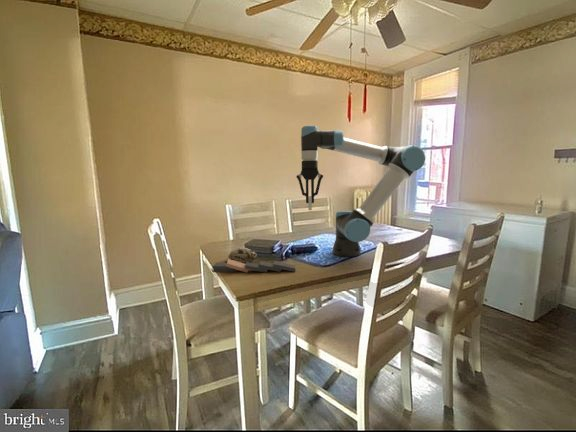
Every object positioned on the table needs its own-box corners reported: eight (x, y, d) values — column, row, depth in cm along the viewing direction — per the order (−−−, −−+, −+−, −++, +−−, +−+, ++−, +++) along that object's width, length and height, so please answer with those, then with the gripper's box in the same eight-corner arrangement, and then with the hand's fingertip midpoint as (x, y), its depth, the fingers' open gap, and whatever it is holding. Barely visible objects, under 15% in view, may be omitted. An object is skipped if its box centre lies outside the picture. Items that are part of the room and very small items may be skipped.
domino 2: (237, 266, 146) (216, 266, 147) (234, 269, 141) (213, 269, 142) (237, 269, 146) (216, 269, 147) (234, 273, 141) (213, 273, 142)
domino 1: (236, 263, 145) (217, 262, 147) (233, 266, 140) (212, 266, 142) (237, 266, 145) (217, 265, 147) (233, 270, 141) (212, 269, 142)
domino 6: (295, 265, 144) (274, 260, 143) (295, 268, 139) (274, 264, 138) (294, 268, 144) (273, 264, 143) (294, 271, 139) (273, 267, 138)
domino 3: (248, 265, 144) (228, 258, 143) (248, 269, 139) (226, 263, 138) (247, 268, 145) (227, 261, 143) (247, 272, 140) (225, 266, 138)
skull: (255, 273, 150) (245, 262, 144) (231, 267, 159) (220, 257, 152) (263, 257, 155) (254, 246, 148) (239, 252, 164) (229, 242, 157)
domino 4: (267, 265, 144) (246, 261, 143) (267, 269, 139) (245, 265, 138) (266, 268, 144) (245, 265, 143) (266, 272, 139) (245, 268, 138)
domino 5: (280, 265, 144) (259, 260, 143) (281, 268, 139) (259, 264, 138) (280, 268, 144) (259, 264, 143) (280, 272, 139) (258, 267, 138)
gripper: (322, 159, 147) (323, 208, 151) (295, 160, 148) (296, 209, 152) (324, 159, 140) (324, 210, 144) (295, 160, 140) (296, 211, 144)
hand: (310, 209), depth 148 cm, fingers closed
